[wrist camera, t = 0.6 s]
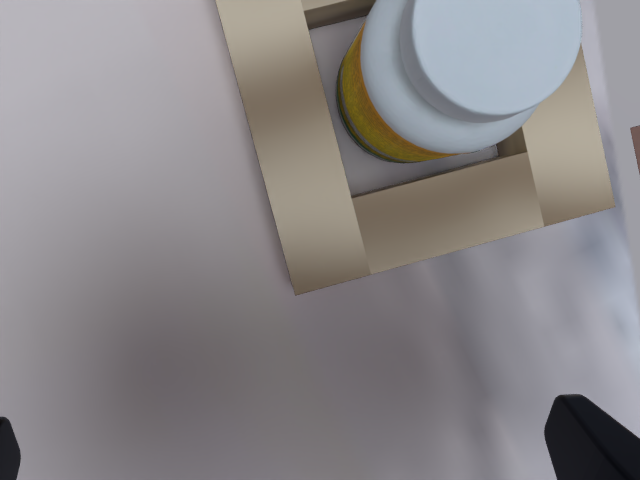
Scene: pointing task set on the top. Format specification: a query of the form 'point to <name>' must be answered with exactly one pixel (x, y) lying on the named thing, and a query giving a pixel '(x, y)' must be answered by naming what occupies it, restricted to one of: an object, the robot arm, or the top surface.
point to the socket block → (407, 197)
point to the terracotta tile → (636, 143)
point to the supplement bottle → (452, 73)
